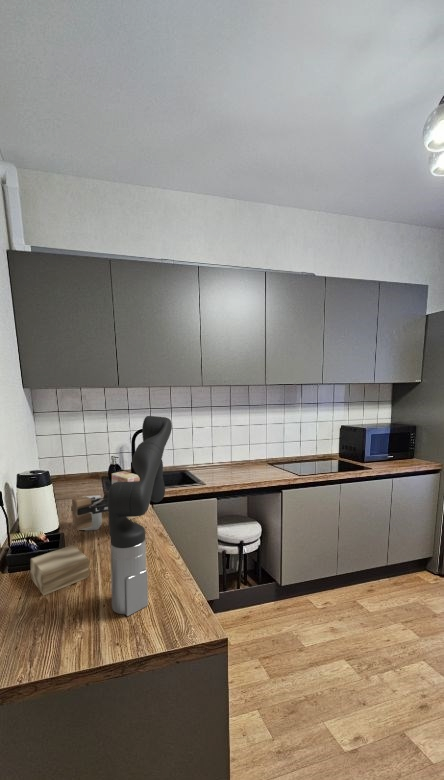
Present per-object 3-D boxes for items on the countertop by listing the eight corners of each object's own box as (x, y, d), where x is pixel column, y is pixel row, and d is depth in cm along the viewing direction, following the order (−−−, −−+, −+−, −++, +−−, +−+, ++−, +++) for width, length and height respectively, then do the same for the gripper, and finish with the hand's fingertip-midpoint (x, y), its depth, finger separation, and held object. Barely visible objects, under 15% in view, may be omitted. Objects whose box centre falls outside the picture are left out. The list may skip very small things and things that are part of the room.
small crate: (92, 526, 120) (91, 498, 120) (77, 530, 116) (77, 501, 117) (86, 522, 124) (85, 495, 124) (72, 526, 120) (71, 499, 120)
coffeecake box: (141, 516, 154) (140, 475, 154) (127, 521, 148) (126, 478, 149) (124, 509, 164) (124, 470, 164) (111, 513, 159) (110, 473, 159)
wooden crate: (90, 577, 103) (89, 557, 103) (43, 596, 94) (43, 574, 94) (74, 562, 113) (73, 544, 113) (30, 578, 103) (30, 558, 103)
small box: (101, 524, 146) (101, 494, 146) (98, 530, 139) (97, 499, 140) (83, 525, 145) (82, 495, 145) (78, 531, 139) (77, 500, 139)
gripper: (109, 486, 135) (67, 496, 123) (126, 493, 125) (82, 504, 113) (110, 505, 135) (67, 516, 123) (127, 513, 125) (82, 526, 113)
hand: (74, 510), depth 118 cm, fingers closed on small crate, 5 cm apart
